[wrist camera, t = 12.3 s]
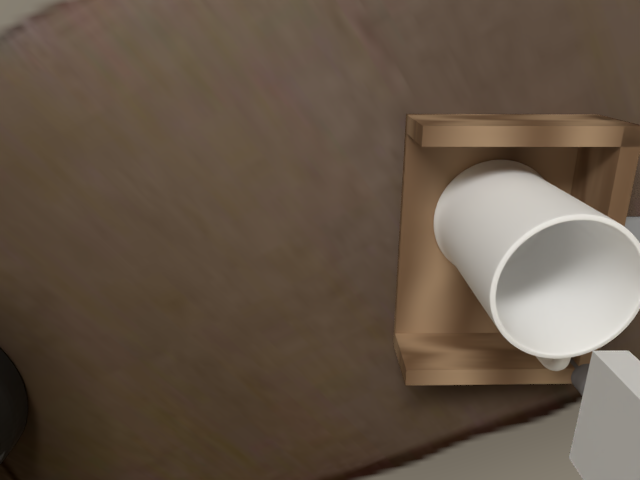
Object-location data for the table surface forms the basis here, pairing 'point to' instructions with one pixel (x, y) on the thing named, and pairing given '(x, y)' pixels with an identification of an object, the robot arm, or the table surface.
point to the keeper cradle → (443, 277)
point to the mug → (539, 260)
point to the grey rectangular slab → (633, 226)
